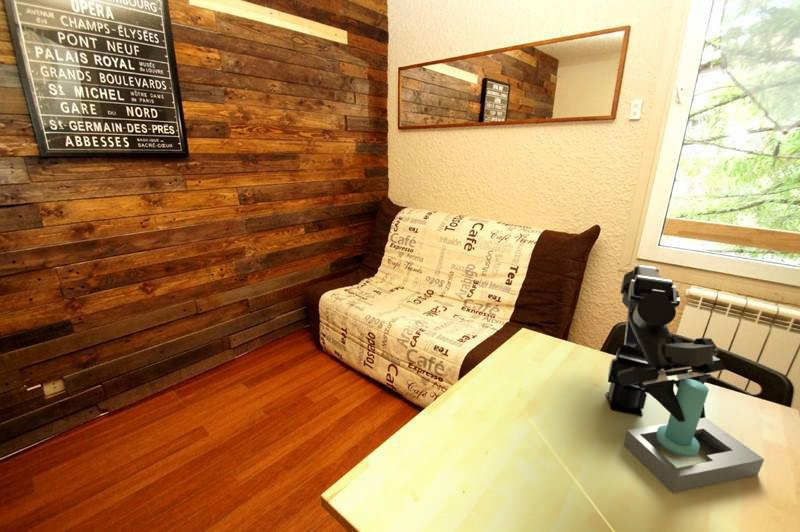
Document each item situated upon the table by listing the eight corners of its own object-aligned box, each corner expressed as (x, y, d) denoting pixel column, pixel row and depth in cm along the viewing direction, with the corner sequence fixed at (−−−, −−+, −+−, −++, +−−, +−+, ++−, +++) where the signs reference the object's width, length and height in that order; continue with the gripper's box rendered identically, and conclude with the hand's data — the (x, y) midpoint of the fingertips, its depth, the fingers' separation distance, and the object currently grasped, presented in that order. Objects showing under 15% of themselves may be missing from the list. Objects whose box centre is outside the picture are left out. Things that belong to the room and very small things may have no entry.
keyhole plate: (672, 493, 62) (677, 476, 61) (623, 444, 72) (627, 429, 71) (757, 474, 66) (764, 459, 64) (699, 431, 76) (704, 416, 75)
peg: (648, 436, 68) (664, 380, 64) (668, 426, 71) (684, 371, 67) (685, 461, 63) (705, 401, 59) (705, 449, 65) (725, 391, 61)
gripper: (643, 328, 62) (687, 425, 55) (729, 318, 65) (781, 408, 58) (602, 344, 71) (635, 428, 65) (679, 335, 75) (718, 414, 68)
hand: (692, 419), depth 64 cm, fingers closed on peg, 4 cm apart
